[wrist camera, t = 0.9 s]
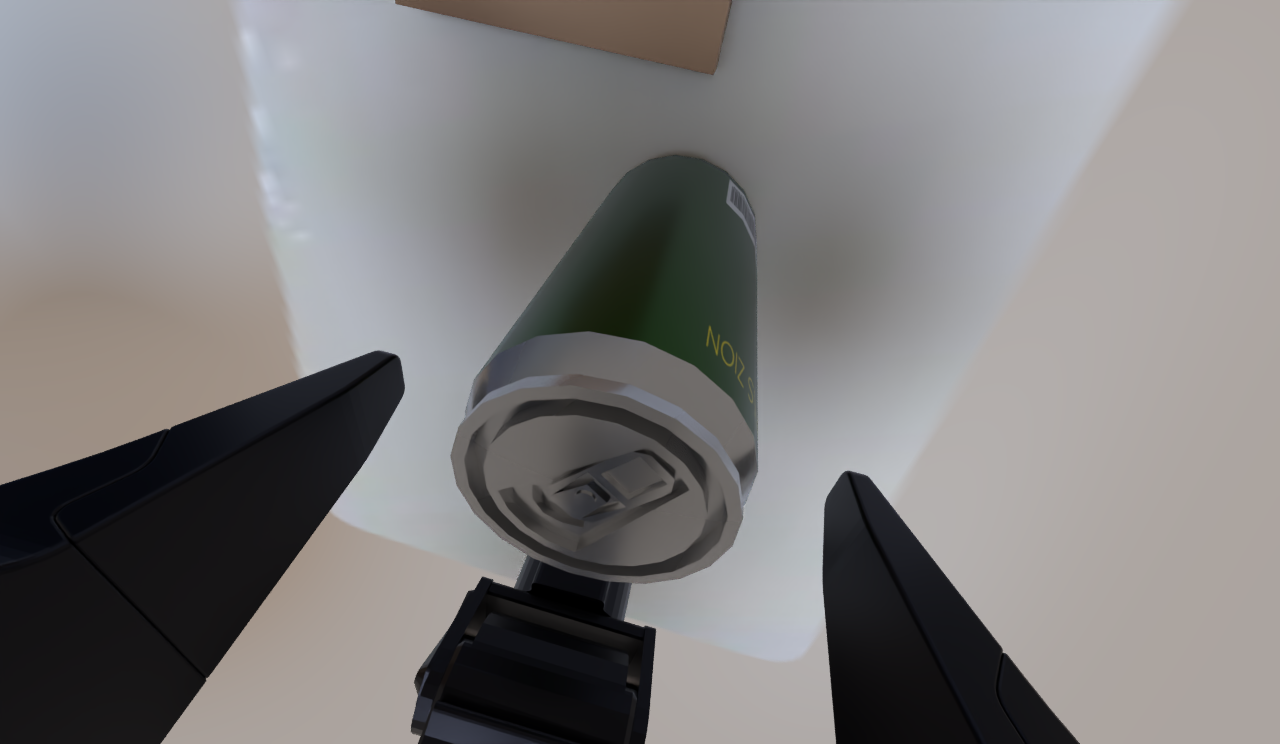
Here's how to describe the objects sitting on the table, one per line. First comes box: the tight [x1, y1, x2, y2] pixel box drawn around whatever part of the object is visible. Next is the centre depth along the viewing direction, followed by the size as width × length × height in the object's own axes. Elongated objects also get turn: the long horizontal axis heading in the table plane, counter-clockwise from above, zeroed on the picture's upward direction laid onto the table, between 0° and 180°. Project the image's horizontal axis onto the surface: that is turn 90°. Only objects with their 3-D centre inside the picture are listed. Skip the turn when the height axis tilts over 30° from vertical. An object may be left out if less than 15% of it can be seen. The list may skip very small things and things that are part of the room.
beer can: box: [451, 155, 758, 583], centre depth 13 cm, size 5×5×12 cm
